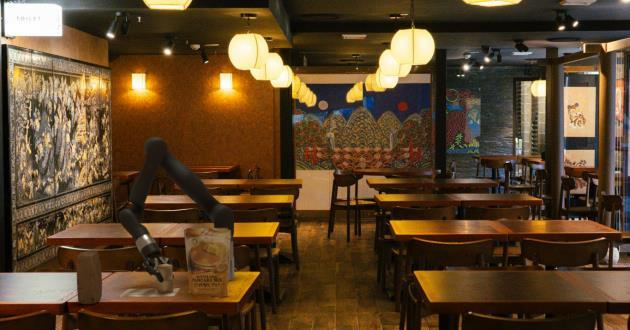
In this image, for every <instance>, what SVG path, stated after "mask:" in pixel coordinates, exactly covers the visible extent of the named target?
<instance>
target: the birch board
mask: <svg viewBox="0 0 630 330" xmlns="http://www.w3.org/2000/svg"><path fill="white" fill-rule="evenodd" d="M180 290H181V287H178V288H177V287H173V292H170V293H166V294H162V293H158V292H157V287H155V288H152V287H150V288H149V287H148V288H127V289H126V290H125V291H124V292H123V293H122V294H120V296H119V297H120V298H136V297H137V298H139V297H140V298H141V297H142V298H145V297H147V298H149V297H150V298H151V297H152V298H153V297H175V296H176V295H177V293H178V292H179V291H180Z"/></svg>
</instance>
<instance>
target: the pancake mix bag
mask: <svg viewBox="0 0 630 330" xmlns="http://www.w3.org/2000/svg"><path fill="white" fill-rule="evenodd" d="M183 234H184V236H183V237H184V244H185V258H186V264H187V265H186V266H187V277H188V294H192V295H200V296H201V295H205V296H206V295H211V296H210V297H223V298H226V297H229V292H228V284H229V281H228V277H229V266H230V256H231V230H228V228H214V227H187V228H185V229H183Z"/></svg>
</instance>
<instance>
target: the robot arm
mask: <svg viewBox="0 0 630 330" xmlns="http://www.w3.org/2000/svg"><path fill="white" fill-rule="evenodd" d="M168 146H169V145H168V143H167V141H165V140H164V138H161V137H158V136H151V137H149V138H148V139H146V140H145V142H144V143H143V151H144V153H145V158H144V163H143V166H142V167H141V170H140V172H139V174H138V176H137V178H136V179H135V182H134V184H133V186H132V189H131V191H130V194H129V198H128V201H129V203H131V208H123V209H122V210H120V212H119V214H118V220H119V223H120V224H121V226H122V227H123V228H124V230H126V232H127V233H128V234H129V235H130V236H131V238H132V240H133V241H134V243H135V244H136V247H137V249H138V251H139V253H140V255H141V256H142V258H143V261H144V262H143V263H142V265H141V267H142V268H143V269H144V270H145V271H146V273H148V275H149V276H154V277H156V280H157V279H158V281H159V282H160V283H162V282H163V281H164V279H163V277H162V275H161V273H159V270H158V267H157V266H158V265H162V264H169V265H172V270H173V269H174V264H173V260H172V257H170V256H168V257H165V256H164V255H162V251H161V249H160V247H159V245H158V244H157V242H156V240H155V238H154V237H153V236H152V235H151V233H150V232H149V231H150V230H148V228H147V227H146V226H145V225H144V224H142V222H143V220H144V215H145V207H146V201H147V198H148V197H149V193H150V190H151V187H152V184H153V182H154V180H155V177H156V174H157V172H158V169H159V168H160V167H161V168H162V170H163V171H165V173H166V175H168V176H169V178H170V179H171V180H172V182H174V183H175V185H176V186H177V188H179V189H180V190H181V191H182V192H183V193H184V194H185V195H186V196H187V197H188V198H189V199H191V200H192V201H193V202H194V203H195V204H197V205H198V206H199V208H201V210H203V212H204V214H206V216H207V217H208V219H210V221H211V222H212V223H213V228H228V230H231V256H230V266H229V277H228V282H229V281H233V280H234V279H235V256H234V235H235V214H234V211H233V209H232V208H231V207H229V206H227V205H224V204H222V203H221V202H220V201H219V200H218V199H217V198H215V196H213V194H212V193H211V192H210V190H209V189H208V187H207V186H206V185H205V183H204V182H203V181H202V179H201V178H200V177H199V176H198V175H197V174H196V172H194V171H193V170H192V169H191V168H190V167H189V166H187V165H186V163H184V162H182V161H180V160H179V159H178V158H177V157H176V156H174V154H173V152H171V151H170V150H169V148H168ZM174 279H175V276H174V274H173V280H174Z"/></svg>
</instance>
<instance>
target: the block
mask: <svg viewBox="0 0 630 330" xmlns="http://www.w3.org/2000/svg"><path fill="white" fill-rule="evenodd" d="M76 261H77V263H76V292H77V293H76V294H77V302H78V303H79V304H81V305H93V304H98V303H99V302H100V300H101V297H102V296H103V295H102V294H103V274H102V265H101V264H102V263H101V260H100V254H99V251H97V250H95V251H94V250H92V251H91V250H90V251H84V252H81V253H79V254H78V255H77V257H76Z"/></svg>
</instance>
